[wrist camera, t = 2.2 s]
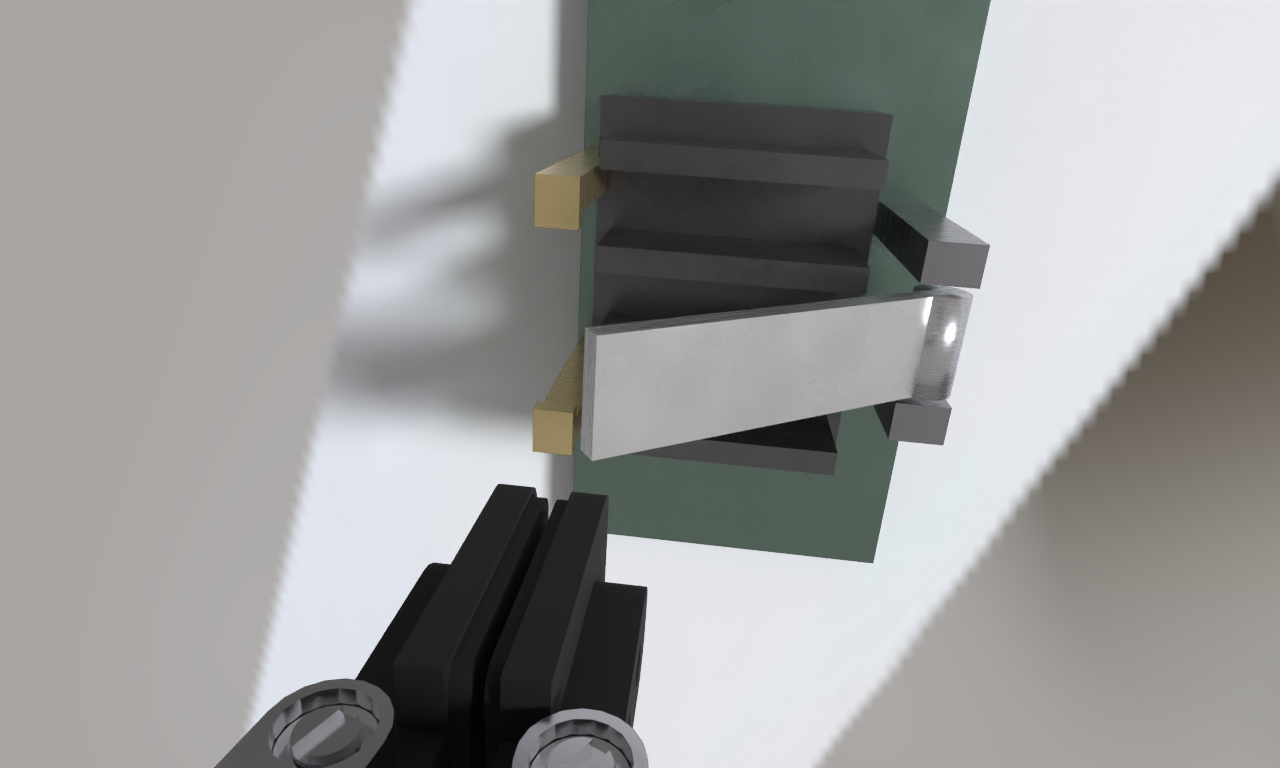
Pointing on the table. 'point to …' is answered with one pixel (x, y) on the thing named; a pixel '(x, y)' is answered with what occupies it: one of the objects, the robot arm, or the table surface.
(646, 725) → the table surface
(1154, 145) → the table surface
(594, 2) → the circuit board
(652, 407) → the retention strap
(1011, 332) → the table surface
